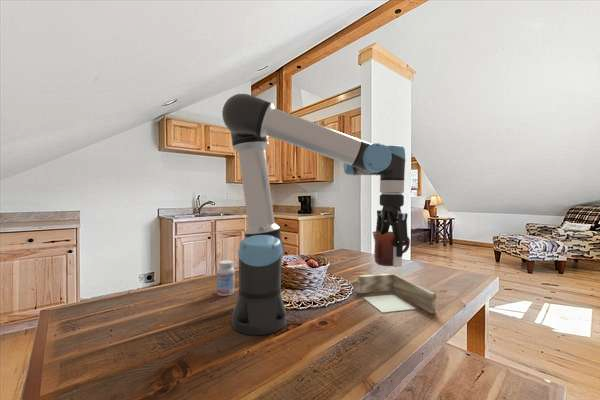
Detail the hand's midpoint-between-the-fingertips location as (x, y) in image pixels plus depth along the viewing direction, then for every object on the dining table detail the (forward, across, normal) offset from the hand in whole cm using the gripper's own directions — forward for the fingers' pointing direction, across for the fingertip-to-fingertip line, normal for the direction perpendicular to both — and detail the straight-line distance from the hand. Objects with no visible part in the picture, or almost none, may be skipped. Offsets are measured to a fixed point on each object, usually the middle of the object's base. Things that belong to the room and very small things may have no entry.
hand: (389, 263), depth 92 cm
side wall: (+14, +11, -2) cm, 18 cm away
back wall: (+14, +1, -9) cm, 17 cm away
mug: (0, 0, 0) cm, 1 cm away
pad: (+14, 0, 0) cm, 14 cm away
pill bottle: (+14, +21, +52) cm, 58 cm away
